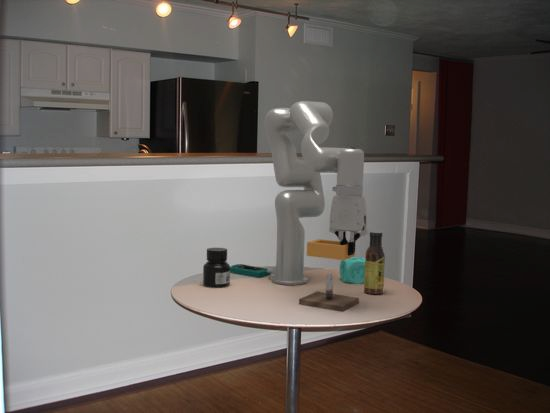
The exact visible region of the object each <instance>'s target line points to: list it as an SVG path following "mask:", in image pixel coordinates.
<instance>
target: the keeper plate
mask: <svg viewBox="0 0 550 413" xmlns="http://www.w3.org/2000/svg"><path fill="white" fill-rule="evenodd" d="M325 281H326V283H325V285H326V286H325V292H324V291H315V292H312V293H310V294H308V295H305V296H303V297H301V298H299V299H298V305H302V306H308V307H313V308H314V307H315V308H319V309H326V310H331V311H335V312H342V313H343V312H344V311H346V310H348V309H350V308H351V307H353V306H355V305H357V304H359V302H360V301H359V300H360V297H354V296H350V295H349V296H348V295H343V294H336V293H333V292H334V275H333V273H328V274H327V275H326V280H325Z"/></svg>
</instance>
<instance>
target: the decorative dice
mask: <svg viewBox="0 0 550 413" xmlns="http://www.w3.org/2000/svg"><path fill="white" fill-rule="evenodd" d="M365 260H366V258H364V257H358V256H355V257H352V258H349V259H346V260H341V261H340V264H339V275H340V279H341V281H342V282H344V283H347V284H352V283H353V285H355V284H357V285H359V284H364V275H365Z"/></svg>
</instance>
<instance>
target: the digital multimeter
mask: <svg viewBox="0 0 550 413" xmlns="http://www.w3.org/2000/svg"><path fill="white" fill-rule="evenodd" d="M267 268H268V267H260V266H254V265H250V264H249V265H247V264H243V263H240V264H239V263H237V264H233V265H231V266H230V274H234V275H242V276H247V277H252V278H257V279H261V278H266V277H269V276H271V275H272V273H267Z"/></svg>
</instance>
